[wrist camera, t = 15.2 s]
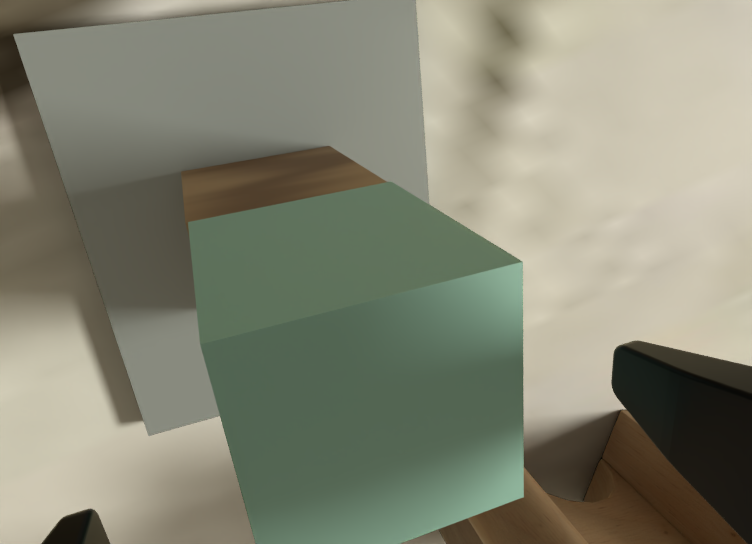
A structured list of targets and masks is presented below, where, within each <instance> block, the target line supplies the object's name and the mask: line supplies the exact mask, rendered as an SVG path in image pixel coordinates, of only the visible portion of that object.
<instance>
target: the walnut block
mask: <svg viewBox="0 0 752 544" xmlns="http://www.w3.org/2000/svg"><path fill="white" fill-rule="evenodd" d="M181 178H182V189H183V201H184V213H185V224H186V227H187V231H188V235H189V228H188V222H191V221H196V220H201V219H206V218H211V217H216V216H221V215H226V214H231V213H236V212H241V211H246V210H251V209H256V208H261V207H266V206H271V205H276V204H281V203H286V202H291V201H296V200H301V199H306V198H311V197H316V196H321V195H326V194H331V193H336V192H341V191H346V190H351V189H356V188H361V187H366V186H371V185H376V184H381V183H386V182H387V181H385V180H383V179H382V178H380V177H379V176H377V175H375V174H374V173H372V172H371V171H369V170H367V169H366V168H364V167H363V166H361V165H359V164H358V163H356V162H355V161H353V160H351V159H350V158H348V157H347V156H345V155H343V154H342V153H340V152H339V151H337V150H335V149H334V148H332V147H331V146H326V147H321V148H315V149H309V150H303V151H297V152H292V153H286V154H280V155H274V156H268V157H263V158H257V159H251V160H245V161H239V162H234V163H228V164H222V165H216V166H210V167H205V168H199V169H193V170H187V171H181ZM189 239H190V238H189Z"/></svg>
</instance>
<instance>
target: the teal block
mask: <svg viewBox="0 0 752 544" xmlns="http://www.w3.org/2000/svg"><path fill="white" fill-rule="evenodd" d="M188 228H189V238H190V248H191V258H192V268H193V278H194V288H195V298H196V308H197V319H198V329H199V339H200V346H201V349H202V353H203V357H204V360H205V364H206V367H207V371H208V375H209V378H210V382H211V385H212V389H213V392H214V396H215V400H216V403H217V407H218V410H219V414H220V418H221V421H222V425H223V428H224V432H225V435H226V439H227V443H228V446H229V450H230V453H231V457H232V461H233V464H234V468H235V471H236V475H237V478H238V482H239V486H240V489H241V493H242V496H243V500H244V503H245V507H246V511H247V514H248V518H249V521H250V525H251V529H252V532H253V536H254V539H255V543H256V544H401V543H403V542H406V541H409V540H411V539H414V538H417V537H419V536H422V535H425V534H427V533H430V532H432V531H435V530H438V529H440V528H443V527H446V526H448V525H451V524H454V523H456V522H459V521H462V520H464V519H467V518H469V517H472V516H475V515H477V514H480V513H483V512H485V511H488V510H491V509H493V508H496V507H499V506H501V505H504V504H507V503H509V502H512V501H514V500H517V499H520V498H522V497H524V450H523V262H522V261H520V260H519V259H517V258H516V257H514V256H512V255H511V254H509V253H507V252H506V251H504V250H503V249H501V248H499V247H498V246H496V245H494V244H493V243H491V242H489V241H488V240H486V239H485V238H483V237H481V236H480V235H478V234H476V233H475V232H473V231H471V230H470V229H468V228H467V227H465V226H463V225H462V224H460V223H458V222H457V221H455V220H453V219H452V218H450V217H449V216H447V215H445V214H444V213H442V212H440V211H439V210H437V209H436V208H434V207H432V206H431V205H429V204H427V203H426V202H424V201H422V200H421V199H419V198H418V197H416V196H414V195H413V194H411V193H409V192H408V191H406V190H404V189H403V188H401V187H400V186H398V185H396V184H395V183H393V182H391V181H390V182H386V183H381V184H376V185H371V186H366V187H361V188H356V189H351V190H346V191H341V192H336V193H331V194H326V195H321V196H316V197H311V198H306V199H301V200H296V201H291V202H286V203H281V204H276V205H271V206H266V207H261V208H256V209H251V210H246V211H241V212H236V213H231V214H226V215H221V216H216V217H211V218H206V219H201V220H196V221H191V222H188Z"/></svg>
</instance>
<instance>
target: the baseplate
mask: <svg viewBox="0 0 752 544" xmlns="http://www.w3.org/2000/svg"><path fill="white" fill-rule="evenodd" d="M13 36H14V38H15V41H16V44H17V47H18V50H19V53H20V56H21V59H22V62H23V65H24V68H25V71H26V74H27V77H28V80H29V83H30V86H31V89H32V92H33V95H34V98H35V101H36V104H37V107H38V110H39V113H40V116H41V118H42V121H43V124H44V127H45V130H46V133H47V136H48V139H49V142H50V145H51V148H52V151H53V154H54V157H55V160H56V163H57V166H58V169H59V172H60V175H61V178H62V181H63V184H64V187H65V190H66V193H67V195H68V198H69V201H70V204H71V207H72V210H73V213H74V216H75V219H76V222H77V225H78V228H79V231H80V234H81V237H82V240H83V243H84V246H85V249H86V252H87V255H88V258H89V261H90V264H91V267H92V270H93V273H94V275H95V278H96V281H97V284H98V287H99V290H100V293H101V296H102V299H103V302H104V305H105V308H106V311H107V314H108V317H109V320H110V323H111V326H112V329H113V332H114V335H115V338H116V341H117V344H118V347H119V350H120V353H121V355H122V358H123V361H124V364H125V367H126V370H127V373H128V376H129V379H130V382H131V385H132V388H133V391H134V394H135V397H136V400H137V403H138V406H139V409H140V412H141V415H142V418H143V421H144V424H145V427H146V430H147V433H148V435H149V436H150V435H154V434H158V433H161V432H165V431H168V430H172V429H175V428H179V427H182V426H186V425H189V424H193V423H196V422H200V421H203V420H207V419H211V418H214V417H218V416H220V414H219V410H218V407H217V403H216V400H215V396H214V392H213V389H212V385H211V382H210V378H209V375H208V371H207V367H206V364H205V360H204V357H203V353H202V349H201V346H200V339H199V329H198V319H197V308H196V298H195V288H194V278H193V268H192V258H191V248H190V239H189V235H188V231H187V227H186V224H185V213H184V201H183V189H182V178H181V171H187V170H193V169H199V168H205V167H210V166H216V165H222V164H228V163H234V162H239V161H245V160H251V159H257V158H263V157H268V156H274V155H280V154H286V153H292V152H297V151H303V150H309V149H315V148H321V147H326V146H331V147H332V148H334V149H335V150H337V151H339V152H340V153H342V154H343V155H345V156H347V157H348V158H350V159H351V160H353V161H355V162H356V163H358V164H359V165H361V166H363V167H364V168H366V169H367V170H369V171H371V172H372V173H374V174H375V175H377V176H379V177H380V178H382V179H383V180H385V181H387V182H390V181H391V182H393V183H395V184H396V185H398V186H400V187H401V188H403V189H404V190H406V191H408V192H409V193H411V194H413V195H414V196H416V197H418V198H419V199H421V200H422V201H424V202H426V203H427V204H429V192H428V177H427V162H426V147H425V132H424V117H423V102H422V87H421V73H420V58H419V43H418V28H417V13H416V0H348V1H338V2H328V3H318V4H308V5H298V6H288V7H278V8H268V9H258V10H248V11H238V12H228V13H218V14H209V15H199V16H189V17H179V18H169V19H159V20H149V21H139V22H129V23H119V24H109V25H99V26H89V27H79V28H69V29H59V30H50V31H40V32H30V33H20V34H13Z"/></svg>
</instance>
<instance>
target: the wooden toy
mask: <svg viewBox="0 0 752 544" xmlns="http://www.w3.org/2000/svg"><path fill="white" fill-rule="evenodd" d="M602 458H603V459H601V460H600V461H599V463H598V465H597V468H596V470H595V473H594V475H593V478H592V480H591V483H590V485H589V488H588V490H587V493H586V495H585V498H584V502H578V501H568V500H565V499H562V498H559V497H557V496H554V495H551V494H548V493H545V491H544V490H543V489H542V488H541V487H540V485H539V484H538V483H537V482H536V481H535V480H534V478H533V477H532V476H531V475H530V474H529V472H528V471H527V470H526V469H525V468H524V497H522V498H520V499H517V500H514V501H512V502H509V503H507V504H504V505H501V506H499V507H496V508H493V509H491V510H488V511H485V512H483V513H480V514H477V515H475V516H472V517H469V518H467V519H464V520H462V521H459V522H456V523H454V524H451V525H448V526H446V527H443V528H440V529H438V530H439V531H440V533H441V535H442V537H443V539H444V540H445V542H446V544H747V543H746V542H745V541H744V540H743V539H742V538H741V537H740V536H739V535H738V534H737V533H736V532H735V531H734V530H733V529H732V528H731V526H730V525H729V524H728V523H727V522H726V521H725V520H724V519H723V518H722V517H721V516H720V515H719V514H718V513H717V512H716V511H715V510H714V509H713V508H712V507H711V506H710V505H709V504H708V503H707V501H706V500H705V499H704V498H703V497H702V496H701V495H700V494H699V493H698V492H697V491H696V490H695V489H694V488H693V487H692V486H691V485H690V484H689V483H688V482H687V481H686V480H685V479H684V478H683V476H682V475H681V474H680V473H679V472H678V471H677V470H676V469H675V468H674V467H673V466H672V465H671V464H670V463H669V461H668V460H667V459H666V458H665V457H664V455H663V454H662V453H661V452H660V451H659V449H658V448H657V447H656V446H655V444H654V443H653V442H652V441H651V439H650V438H649V437H648V436H647V434H646V433H645V432H644V431H643V429H642V428H641V427H640V426H639V424H638V423H637V422H636V421H635V419H634V418H633V417H632V416H631V414H630V413H629V412H628V411H627V410H621V411H620V414H619V416H618V418H617V421H616V423H615V426H614V428H613V431H612V433H611V435H610V438H609V441H608V443H607V446H606V448H605V451H604V453H603V456H602Z"/></svg>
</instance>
